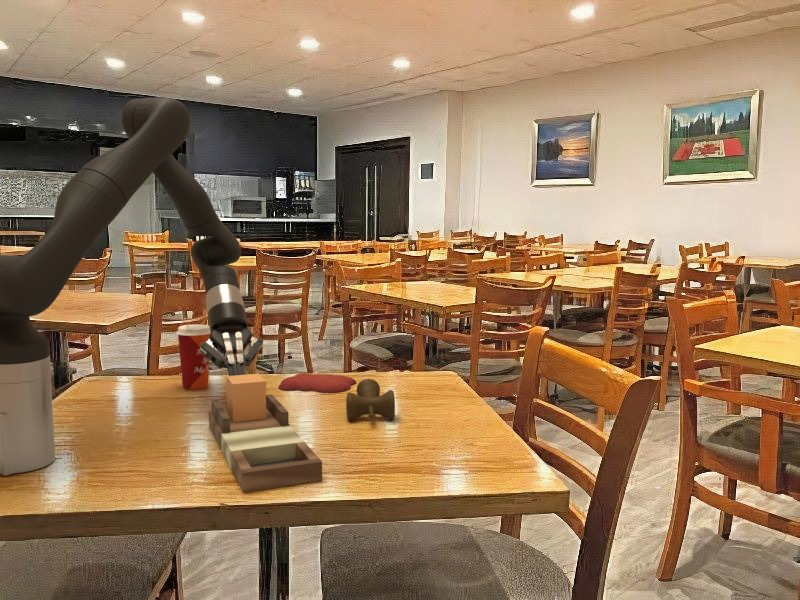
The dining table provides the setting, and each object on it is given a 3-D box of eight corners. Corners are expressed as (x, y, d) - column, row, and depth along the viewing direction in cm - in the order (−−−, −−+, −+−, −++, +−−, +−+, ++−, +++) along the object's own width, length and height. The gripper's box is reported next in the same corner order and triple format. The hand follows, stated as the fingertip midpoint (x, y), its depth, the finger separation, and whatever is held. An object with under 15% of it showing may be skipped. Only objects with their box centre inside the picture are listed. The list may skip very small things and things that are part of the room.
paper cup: (207, 391, 152) (205, 330, 150) (173, 390, 152) (171, 329, 150) (217, 382, 159) (216, 324, 158) (184, 381, 160) (183, 323, 158)
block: (226, 412, 127) (226, 376, 126) (258, 409, 129) (258, 373, 128) (233, 422, 121) (232, 384, 120) (266, 418, 124) (265, 381, 123)
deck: (209, 426, 128) (208, 398, 127) (272, 419, 133) (271, 392, 132) (243, 492, 99) (242, 456, 98) (322, 480, 104) (322, 446, 103)
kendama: (390, 402, 148) (397, 429, 129) (346, 403, 148) (346, 431, 128) (390, 375, 148) (396, 398, 128) (345, 376, 147) (345, 400, 127)
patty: (272, 392, 154) (271, 383, 154) (291, 377, 168) (291, 369, 167) (346, 396, 151) (346, 388, 151) (360, 381, 165) (360, 373, 165)
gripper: (194, 301, 135) (205, 375, 126) (260, 299, 141) (275, 370, 131) (191, 323, 141) (201, 396, 131) (255, 320, 146) (269, 389, 137)
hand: (238, 383), depth 131 cm, fingers closed
